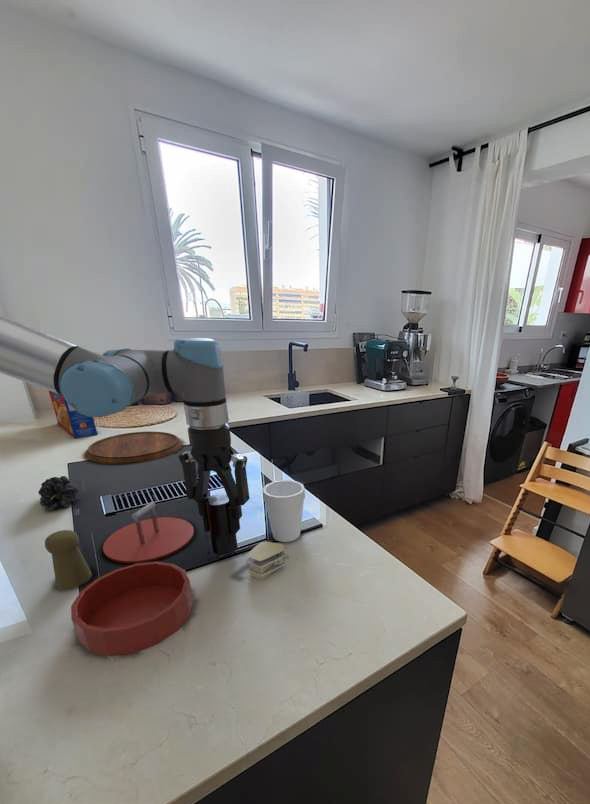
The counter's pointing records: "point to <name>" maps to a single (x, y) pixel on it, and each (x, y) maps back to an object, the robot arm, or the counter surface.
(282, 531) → the foam cup
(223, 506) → the black item
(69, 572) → the cork
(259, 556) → the beige layered block
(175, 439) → the cutting board
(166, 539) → the lid
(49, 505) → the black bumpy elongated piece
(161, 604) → the pot
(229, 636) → the counter surface
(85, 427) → the red and blue box
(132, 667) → the counter surface
